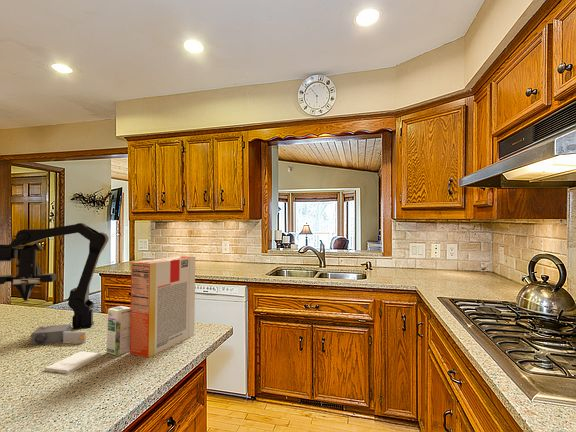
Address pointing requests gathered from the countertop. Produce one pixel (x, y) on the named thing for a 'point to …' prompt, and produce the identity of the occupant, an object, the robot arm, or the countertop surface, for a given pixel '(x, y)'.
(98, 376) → the countertop surface
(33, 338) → the camera block
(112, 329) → the syrup box
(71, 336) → the side door
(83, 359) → the external hard drive
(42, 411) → the countertop surface
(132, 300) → the cereal box
